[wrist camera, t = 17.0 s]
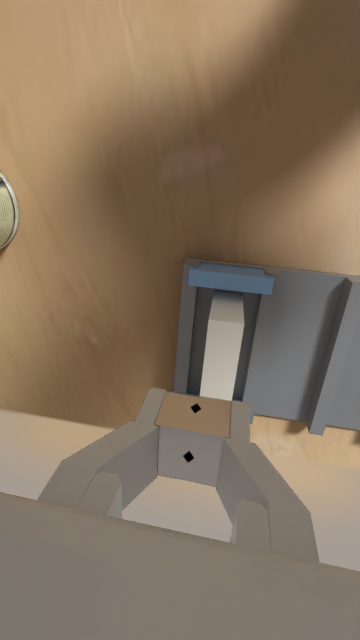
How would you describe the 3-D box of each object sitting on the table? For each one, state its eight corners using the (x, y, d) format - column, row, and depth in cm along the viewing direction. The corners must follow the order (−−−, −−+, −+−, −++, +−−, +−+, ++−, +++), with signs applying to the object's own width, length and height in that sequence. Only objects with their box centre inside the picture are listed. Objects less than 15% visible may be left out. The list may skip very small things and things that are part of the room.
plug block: (214, 290, 35) (208, 319, 28) (242, 294, 35) (244, 324, 28) (202, 385, 40) (195, 430, 33) (227, 389, 40) (225, 435, 33)
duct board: (185, 257, 36) (179, 266, 32) (446, 285, 33) (473, 298, 29) (173, 396, 43) (168, 416, 39) (387, 429, 40) (403, 454, 36)
